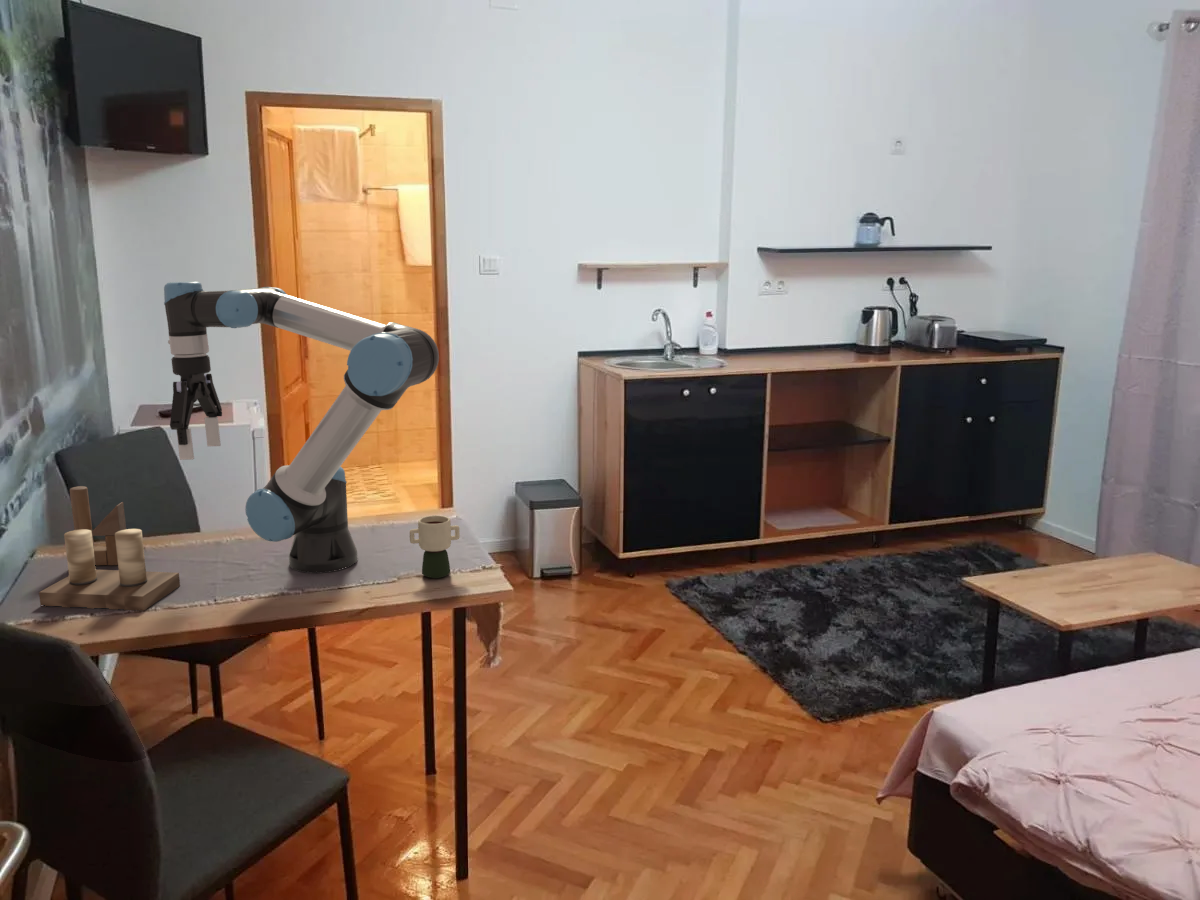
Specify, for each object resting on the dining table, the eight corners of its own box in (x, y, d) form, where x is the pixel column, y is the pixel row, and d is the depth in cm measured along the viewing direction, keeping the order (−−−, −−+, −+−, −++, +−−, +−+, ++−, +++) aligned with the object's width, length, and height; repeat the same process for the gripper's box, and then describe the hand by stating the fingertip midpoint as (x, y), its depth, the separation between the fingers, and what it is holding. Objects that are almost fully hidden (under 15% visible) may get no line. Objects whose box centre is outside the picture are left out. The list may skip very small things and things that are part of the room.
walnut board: (180, 585, 207) (174, 525, 204) (144, 610, 193) (137, 546, 190) (82, 582, 208) (75, 522, 206) (40, 606, 195) (32, 542, 192)
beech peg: (130, 589, 203) (123, 528, 200) (153, 590, 202) (147, 529, 200) (116, 598, 198) (109, 535, 195) (139, 599, 198) (133, 536, 195)
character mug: (458, 568, 219) (456, 513, 216) (463, 578, 212) (461, 522, 209) (409, 572, 215) (407, 517, 213) (413, 583, 209) (411, 526, 206)
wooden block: (123, 565, 219) (115, 489, 215) (74, 566, 218) (65, 490, 214) (130, 560, 223) (122, 485, 219) (81, 561, 222) (72, 485, 218)
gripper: (198, 349, 217) (208, 441, 222) (144, 362, 193) (156, 465, 197) (231, 348, 217) (240, 440, 221) (181, 361, 192) (192, 465, 197)
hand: (201, 452), depth 209 cm, fingers open, 13 cm apart
